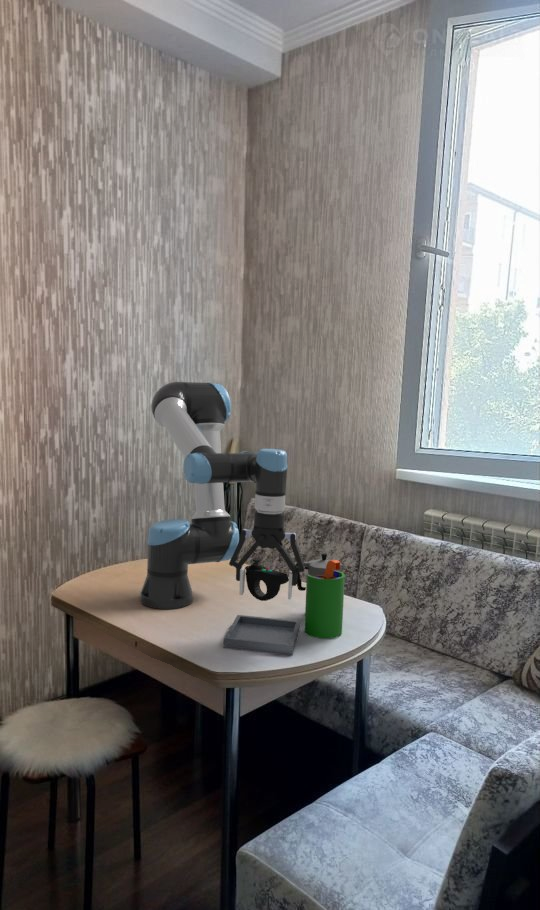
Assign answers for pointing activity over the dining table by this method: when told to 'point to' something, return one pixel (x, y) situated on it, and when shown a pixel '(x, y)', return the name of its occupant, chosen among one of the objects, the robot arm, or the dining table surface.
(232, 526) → the robot arm
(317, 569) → the coffeepot
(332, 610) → the green cylindrical container
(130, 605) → the dining table surface
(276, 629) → the tray
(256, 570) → the controller
